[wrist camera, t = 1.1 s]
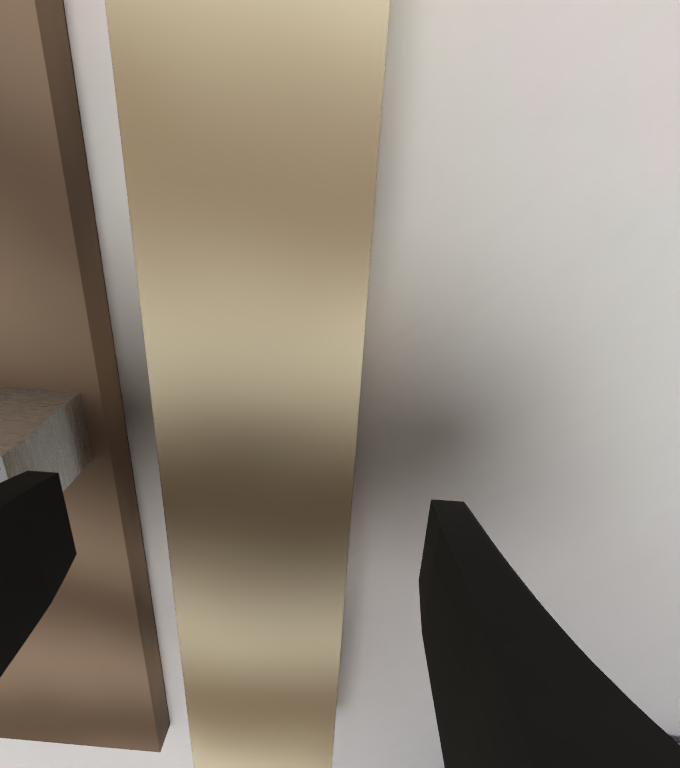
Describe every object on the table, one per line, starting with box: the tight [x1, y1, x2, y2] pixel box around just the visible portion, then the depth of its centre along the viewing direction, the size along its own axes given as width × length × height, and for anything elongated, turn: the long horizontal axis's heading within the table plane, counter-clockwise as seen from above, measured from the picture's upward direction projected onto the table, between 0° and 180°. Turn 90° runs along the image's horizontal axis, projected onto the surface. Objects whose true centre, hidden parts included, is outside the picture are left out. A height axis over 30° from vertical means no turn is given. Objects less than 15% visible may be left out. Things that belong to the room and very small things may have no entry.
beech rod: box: [105, 0, 390, 768], centre depth 12 cm, size 24×4×4 cm, turn 177°
